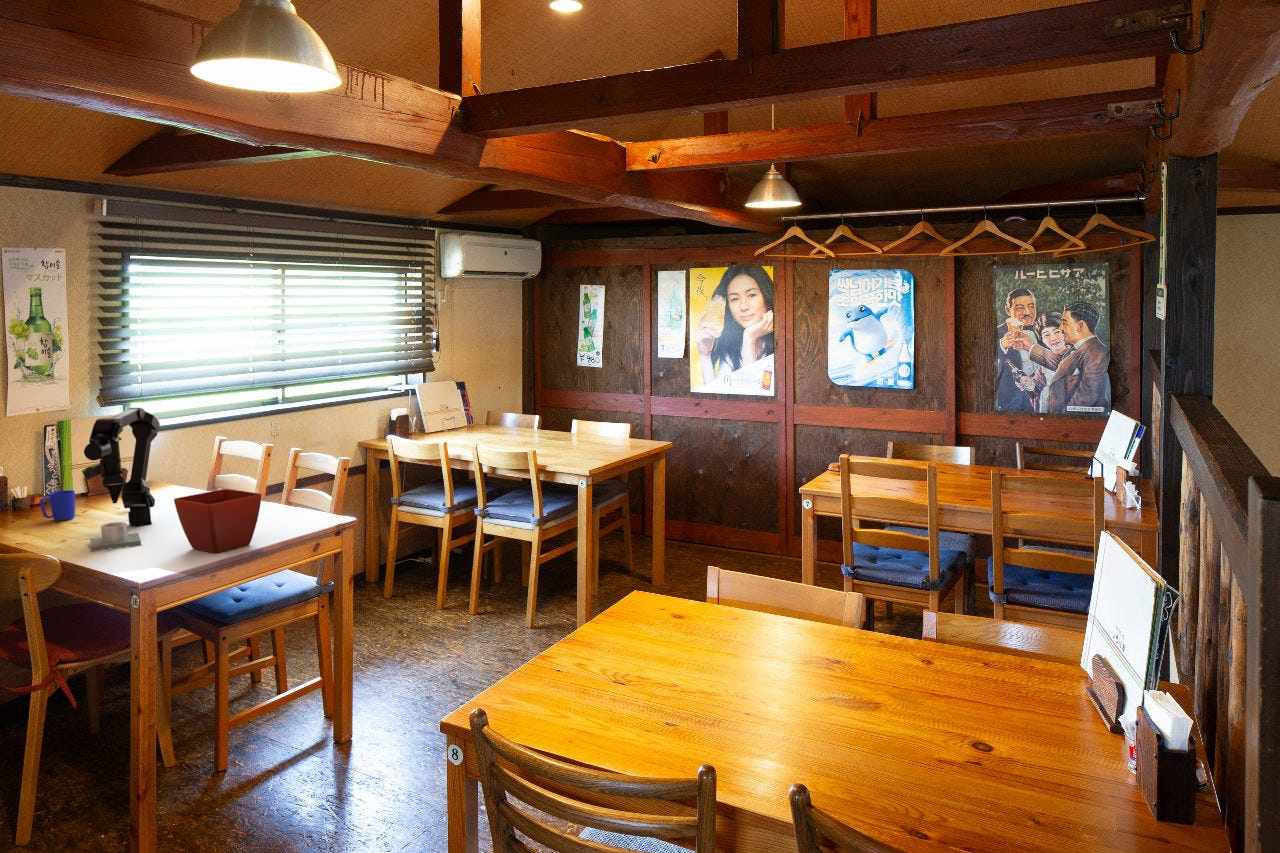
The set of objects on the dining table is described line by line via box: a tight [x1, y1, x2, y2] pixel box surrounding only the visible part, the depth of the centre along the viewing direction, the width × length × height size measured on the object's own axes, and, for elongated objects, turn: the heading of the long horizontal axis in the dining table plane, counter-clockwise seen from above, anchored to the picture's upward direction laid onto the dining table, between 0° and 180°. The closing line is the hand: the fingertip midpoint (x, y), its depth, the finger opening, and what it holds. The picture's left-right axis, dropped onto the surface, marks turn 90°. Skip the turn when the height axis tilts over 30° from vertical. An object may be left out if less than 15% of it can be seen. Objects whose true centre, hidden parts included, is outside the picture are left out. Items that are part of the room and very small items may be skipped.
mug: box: [39, 489, 76, 521], centre depth 331 cm, size 8×12×10 cm
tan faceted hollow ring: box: [100, 521, 128, 543], centre depth 298 cm, size 7×7×5 cm
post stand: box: [89, 524, 142, 552], centre depth 298 cm, size 14×12×6 cm
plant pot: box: [173, 488, 262, 554], centre depth 293 cm, size 19×19×17 cm
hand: (114, 500), depth 308 cm, fingers open, 9 cm apart
